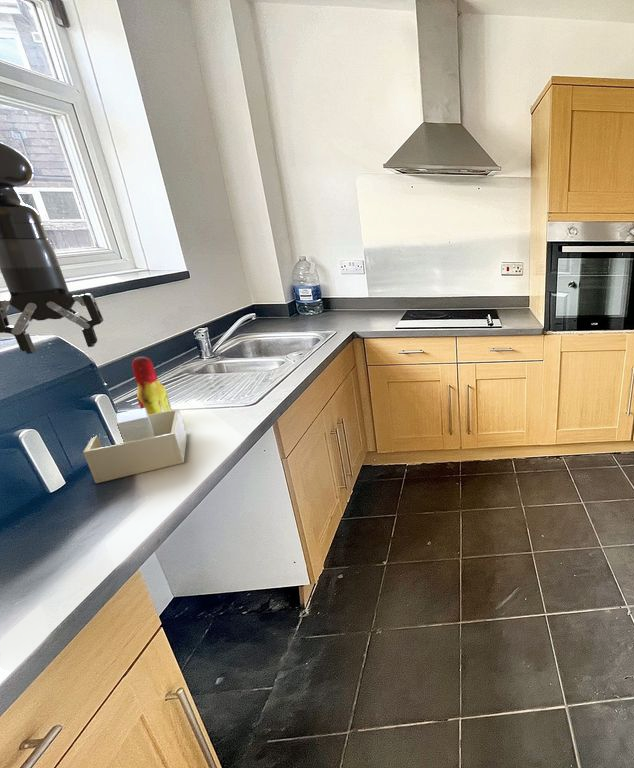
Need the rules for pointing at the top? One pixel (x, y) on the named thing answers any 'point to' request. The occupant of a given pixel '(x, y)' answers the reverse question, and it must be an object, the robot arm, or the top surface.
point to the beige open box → (140, 450)
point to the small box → (134, 425)
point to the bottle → (149, 387)
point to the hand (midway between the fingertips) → (62, 349)
